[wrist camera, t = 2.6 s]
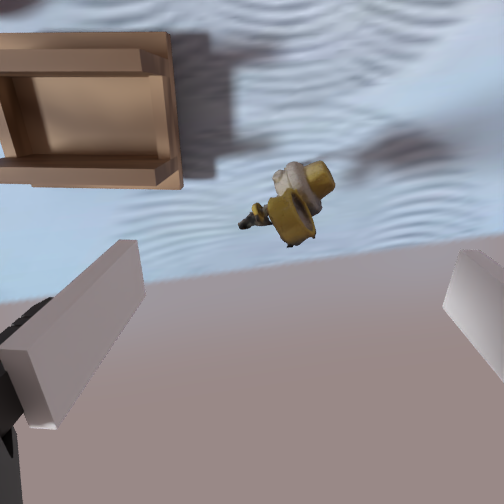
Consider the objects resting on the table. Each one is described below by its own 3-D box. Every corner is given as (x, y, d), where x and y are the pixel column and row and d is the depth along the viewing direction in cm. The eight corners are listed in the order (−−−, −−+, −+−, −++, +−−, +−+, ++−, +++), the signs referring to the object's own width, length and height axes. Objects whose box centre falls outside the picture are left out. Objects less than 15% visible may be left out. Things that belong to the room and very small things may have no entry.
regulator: (302, 131, 29) (327, 159, 16) (323, 168, 31) (364, 222, 17) (236, 178, 32) (208, 238, 18) (259, 210, 33) (249, 288, 19)
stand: (14, 39, 28) (-93, 14, 19) (176, 38, 27) (134, 12, 19) (52, 179, 33) (-22, 206, 25) (188, 182, 32) (159, 210, 24)
